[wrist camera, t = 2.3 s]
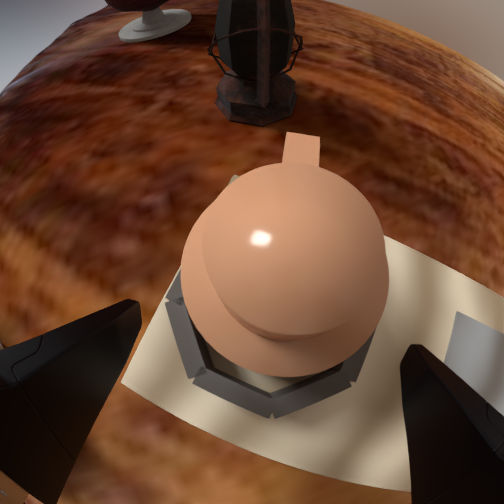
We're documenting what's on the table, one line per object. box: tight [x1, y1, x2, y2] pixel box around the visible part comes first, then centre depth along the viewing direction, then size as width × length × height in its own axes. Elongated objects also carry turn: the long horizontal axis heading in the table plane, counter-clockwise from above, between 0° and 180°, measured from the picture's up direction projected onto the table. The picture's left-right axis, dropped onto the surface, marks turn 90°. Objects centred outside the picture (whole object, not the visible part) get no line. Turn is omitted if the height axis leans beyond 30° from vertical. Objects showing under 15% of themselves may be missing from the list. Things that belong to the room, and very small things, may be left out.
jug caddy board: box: [121, 175, 504, 492], centre depth 15 cm, size 30×16×4 cm, turn 65°
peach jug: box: [180, 132, 389, 377], centre depth 12 cm, size 9×6×11 cm
